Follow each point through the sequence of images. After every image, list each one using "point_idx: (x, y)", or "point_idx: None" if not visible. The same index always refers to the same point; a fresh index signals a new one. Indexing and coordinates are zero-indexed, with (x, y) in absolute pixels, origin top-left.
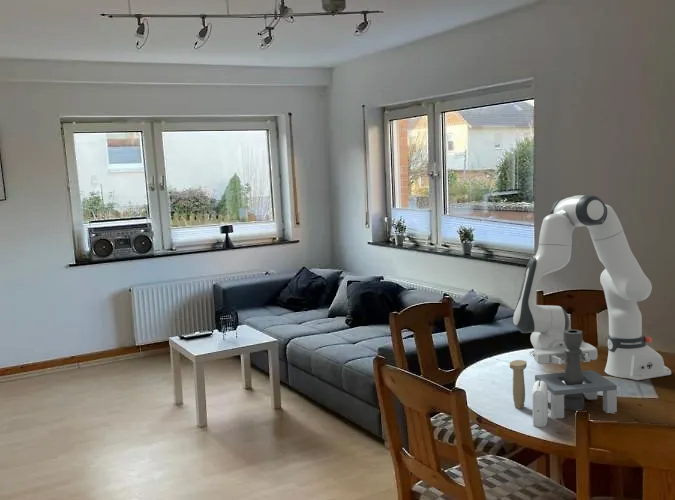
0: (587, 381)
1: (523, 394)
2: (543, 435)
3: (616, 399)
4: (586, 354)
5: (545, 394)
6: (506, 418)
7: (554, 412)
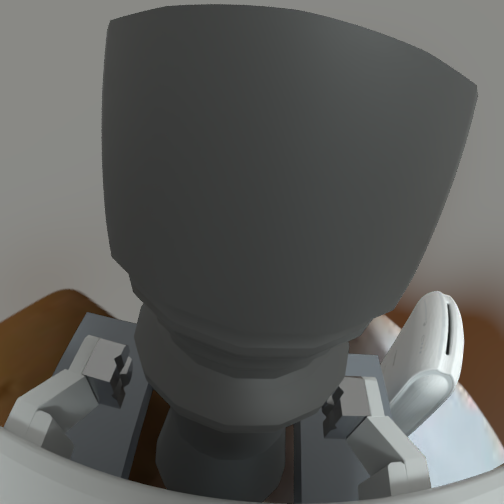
0: (134, 441)
1: None
2: (388, 333)
3: None
4: (48, 391)
5: (419, 301)
6: (463, 439)
7: None
